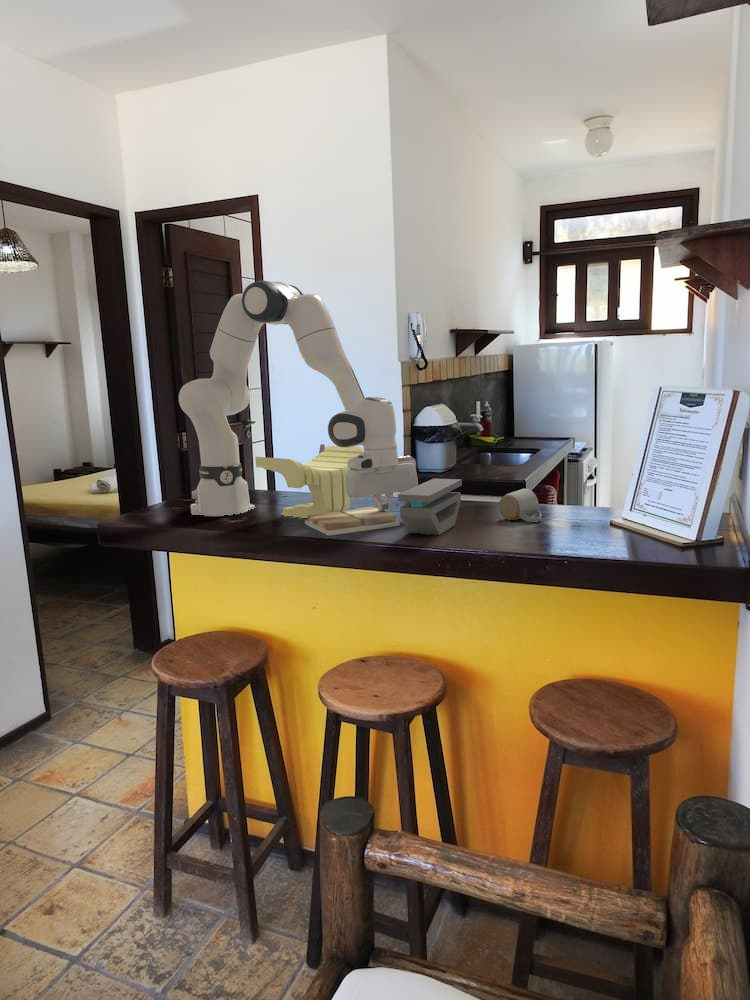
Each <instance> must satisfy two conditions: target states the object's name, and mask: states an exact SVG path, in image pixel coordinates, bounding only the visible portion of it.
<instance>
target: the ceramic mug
mask: <svg viewBox="0 0 750 1000" xmlns="http://www.w3.org/2000/svg"><path fill="white" fill-rule="evenodd" d="M498 508H499V509H498V510H499V512H500V515H501V516H502V517H503V518H504V519H505V520H507V519H508V520H507V521H510V520H515V521H519V520H518V519H520V520H523V521H525V522H526V523H530V522H534V521H539V520H540V521H541V519H542V513H541V511H540V510H539V508H540V507H539V500H538V497H537V495H536V494H535V492H534V491H532V489H529V488H521V489H519V490H518V489H517V490H514V491H512V492H510V493H509V492H508V493H506V494H505V495H503V496H502V497H501V498H500V499H499V503H498ZM535 515H536V516H537V517H535ZM531 516H532V517H531ZM540 521H539V522H540Z"/></svg>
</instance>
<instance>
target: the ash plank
mask: <svg viewBox="0 0 750 1000" xmlns="http://www.w3.org/2000/svg"><path fill="white" fill-rule="evenodd" d="M342 513H344V514H346V515H349V516H351V517H354V518H356V519H359V520H361V524H362V525H371V524H377V523H383V522H389V521H395V520H396V521H397V514H395V513H391V512H388V510H385V511H379V510H378V507H374V506H366V507H359V508H353V509H349V510H345V511H342Z"/></svg>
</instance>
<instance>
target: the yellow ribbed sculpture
mask: <svg viewBox="0 0 750 1000" xmlns="http://www.w3.org/2000/svg"><path fill="white" fill-rule="evenodd" d="M362 453H364V447H363V446H362V447H361V446H355V447H349V448H344V447H339V446H337V445H327V446H325V449H324V452H321V453H320V454H319V453H318V454H317V456H318V457H316V456H315V457H314V458H312V459H311V460H310V461H307V462H305V463H304V464H303V463H301V462H300V461H297V460H295V459H290V458H280V457H279V458H277V457H266V456H265V457H264V456H263V457H262V456H255V457H254V458H255V467H256V468H262V469H263V470H268V471H271V472H274V473H278V474H280V475H282V476H283V478H284V480H285V482H286V485H287V488H292V489H301V488H303V487H304V486H305V485H306V486H307V487H308V489H309V492H310V493H311V496H312V498H313V499H312V502H305V503H301V504H297V505H292V506H289V507H284V508H282V513H281V515H284V516H283V517H287V516H294V517H293V518H295V517H302V518H308V515H316V514H324V513H332V512H341V513H342V511H345V510H350V507H351V497H349V496H348V495H347V494H346V474H347V472H348V470H349V469H351V468H349V467H348V466H347V461H348V460H350V459H352V458H354V457H356V456H358V455H360V454H362ZM302 518H301V519H302Z"/></svg>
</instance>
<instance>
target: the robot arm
mask: <svg viewBox="0 0 750 1000" xmlns="http://www.w3.org/2000/svg"><path fill="white" fill-rule="evenodd" d="M265 324H267V325H268V324H269V325H288V326H289V327H290V329H291V330H292V333H293V335H294V339H295V341H296V344H297V347H298V350H299V352H300V355H301V357H302V359H303V360H304V362H305V364H306V365H307V366H308V367H309V368H311V369H312V370H313V371H316V372H318V373H320V374H322V375H323V376H325V377H327V379H328V380H330V382H331V383H332V384H333V385H334V387H335V389H336V391H337V393H338V396H339V399H340V401H341V403H342V405H343V407H344V410H343V411H340V412H338V413H336V414H335V415H333V416H332V417H331V418H330V420H329V422H328V424H327V433H328V437H329V439H330V441H331V442H332V443H333V444H334V446H339V447H344V448H349V447H359V446H362V448H364V453H362V454H360V455H358V456H356V457H354V458H352V459H350V460H348V461H347V466H348V467H349V468H351V469H349V470H348V472H347V474H346V494H347V495H348V496H349V497H350V499H351V498H352V499H358V498H366V497H373V500H374V502H375V503H376V505H377V508H378V510H379V511H390V510H391V502H392V500H393V498H394V493H402V492H404V491H406V490H409V489H411V488H413V487H416V486H418V485H419V481H418V474H417V461H416V459H415V458H414V457H413V456H411V455H406V456H398V444H397V441H396V435H397V424H396V414H395V413H396V412H395V409H394V405H393V403H392V401H390V400H389V399H387V398H384V397H379V396H378V397H377V396H375V397H374V396H366V397H365V395H364V392H363V390H362V388H361V386H360V383H359V381H358V379H357V376H356V374H355V372H354V370H353V367H352V365H351V363H350V361H349V358H348V357H347V355H346V353H345V350H344V347H343V344H342V343H341V340H340V337H339V334H338V331H337V328H336V326H335V323H334V320H333V318H332V316H331V314H330V312H329V309H328V308H327V306H326V304H325V302H324V300H323V299H322V298H321V297H320V296H319V295H317V294H315V293H314V294H313V293H305V294H304V292H303V291H302V290H301V289H299V288H298V287H297V286H295V285H293V284H289V283H284V282H282V281H268V280H256V281H254V282H251V283H250V284H248V285H247V286H246V287H245V289H244V291H243V292H242V293H236V294H234V295H232V296H231V297H230V299H229V301H227V304H226V306H225V307H224V310H223V312H222V314H221V317H220V320H219V322H218V325H217V328H216V330H215V331H216V332H215V333H214V337H213V340H212V343H211V345H210V349H209V356H210V359H211V360H212V362H213V372H212V376H211V377H210V378H198V379H194V380H191V381H189V382H186V383H185V384H183V386H182V387H181V388H180V390H179V392H178V404H179V406H180V409H181V410H182V411H183V413H185V414H186V415H187V417H189V419H190V421H191V423H192V425H193V426H194V429H195V432H196V436H197V439H198V445H199V455H200V465H199V477H200V480H199V482H198V484H197V486H196V489H194V490H192V491H191V499H193V500H195V501H194V503H191V504H190V515H191V514H192V515H204V516H203V517H225V516H224V515H228V516H233V514H235V515H240V513H241V514H244V513H247V512H248V510H249V511H251V509H252V510H254V508H255V509H256V505H255V504H252V503H250V494H249V486H248V482H247V481H246V479H244V478H243V477H242V476H243V468H242V463H241V462H240V450H239V449H240V447H239V437H238V436H237V434H236V433H235V432H234V431H233V430H232V429H231V426H230V424H229V421H228V418H227V416H233V415H237V414H238V413H241V412H242V411H243V410H245V409H246V408H247V407H248V406H249V405H250V401H251V394H250V393H251V392H250V390H249V387H248V385H247V377H248V367H249V365H250V364H249V363H250V361H251V356H252V354H253V351H254V348H255V345H256V343H257V341H258V337H259V333H260V330H261V329H262V327H263V326H264V325H265ZM382 495H384V496H385V497H386V498H385V501H384V502H382V501H381V500H382V498H383V497H382ZM192 515H191V516H192Z"/></svg>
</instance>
